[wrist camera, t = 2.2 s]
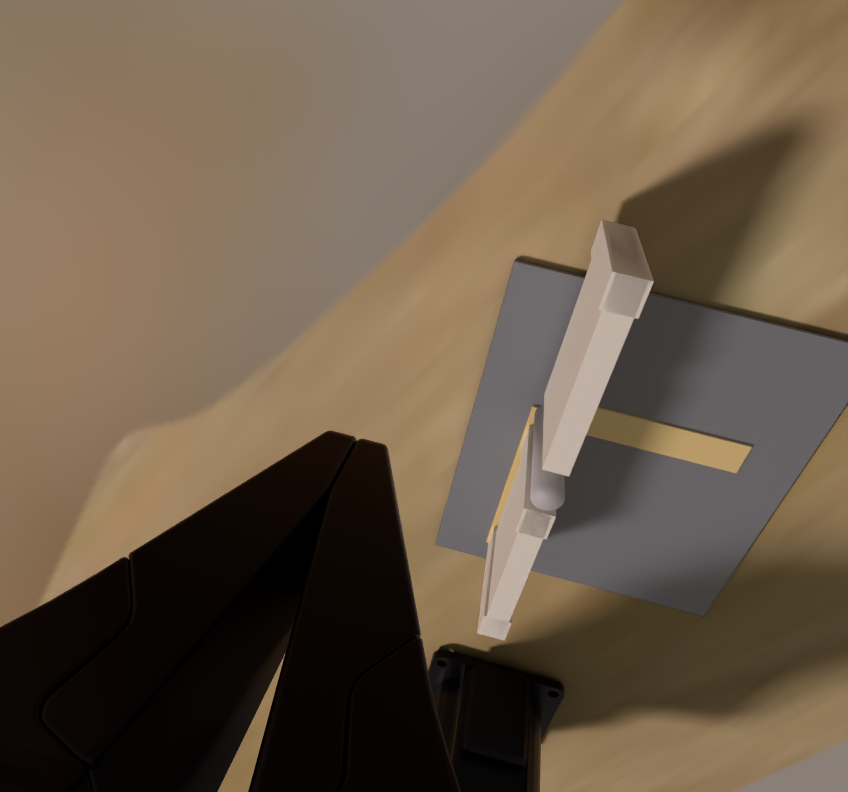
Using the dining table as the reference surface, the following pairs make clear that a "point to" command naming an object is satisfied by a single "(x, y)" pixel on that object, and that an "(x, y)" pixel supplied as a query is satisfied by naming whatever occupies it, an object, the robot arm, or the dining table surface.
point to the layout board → (650, 440)
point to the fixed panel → (512, 549)
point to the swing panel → (587, 357)
